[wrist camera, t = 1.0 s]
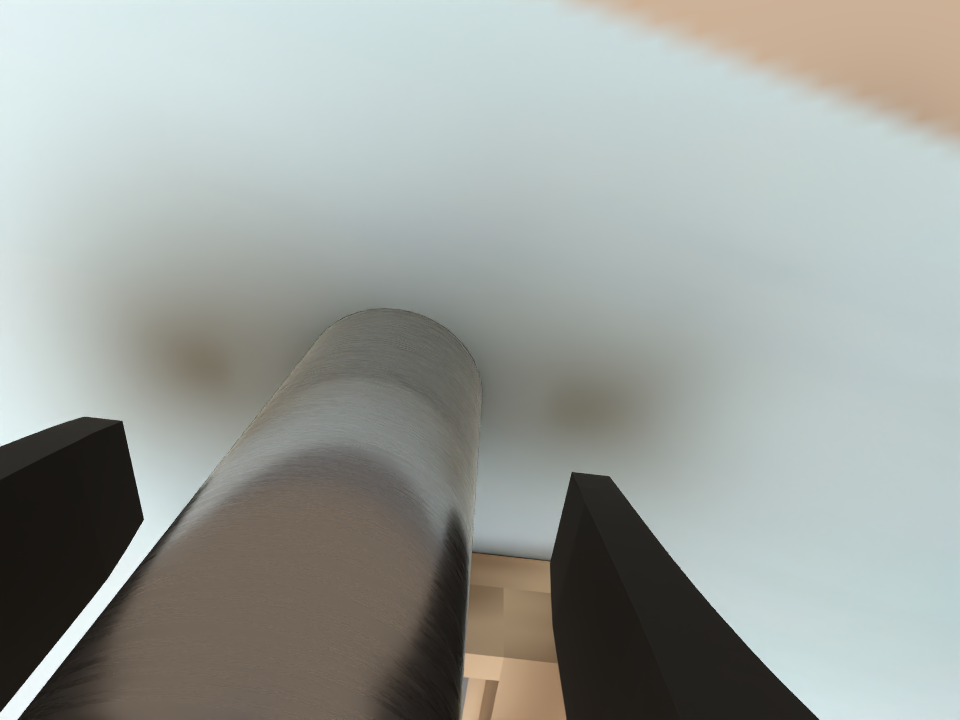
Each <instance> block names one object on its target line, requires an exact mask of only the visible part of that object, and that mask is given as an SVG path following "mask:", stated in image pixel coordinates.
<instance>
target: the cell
mask: <svg viewBox="0 0 960 720" xmlns="http://www.w3.org/2000/svg"><path fill="white" fill-rule="evenodd" d="M481 404H482V386H481V380H480V376H479V372H478V370H477V367H476V365H475V362H474V360H473V359H472V357H471V355H470V353H469V352H468V351H467V349H466V348H465V347H464V345H463V344H462V343H461V342H460V341H459V340H458V339H457V338H456V337H455V336H454V335H453V334H452V333H451V332H449V331H448V330H447V329H445V328H444V327H443V326H441V325H439V324H438V323H436V322H434V321H433V320H430V319H428V318H426V317H424V316H421V315H418V314H415V313H412V312H408V311H403V310H397V309H372V310H367V311H362V312H358V313H355V314H352V315H349V316H347V317H345V318H343V319H341V320H339V321H337V322H336V323H334V324H333V325H332V326H330V327H329V328H328V329H327V330H326V331H324V332H323V333H322V334H321V335H320V337H319V338H318V339H317V340H316V342H315V343H314V344H313V346H312V347H311V348H310V349H309V351H308V352H307V353H306V354H305V356H304V357H303V358H302V360H301V361H300V362H299V363H298V365H297V366H296V367H295V368H294V370H293V371H292V372H291V373H290V375H289V376H288V377H287V379H286V380H285V381H284V382H283V384H282V385H281V386H280V387H279V389H278V390H277V391H276V392H275V394H274V395H273V396H272V398H271V399H270V400H269V401H268V403H267V404H266V405H265V406H264V408H263V409H262V410H261V412H260V413H259V414H258V415H257V417H256V418H255V419H254V420H253V422H252V423H251V424H250V425H249V427H248V428H247V429H246V431H245V432H244V433H243V434H242V436H241V437H240V438H239V439H238V441H237V442H236V443H235V445H234V446H233V447H232V448H231V450H230V451H229V452H228V453H227V455H226V456H225V457H224V458H223V460H222V461H221V462H220V464H219V465H218V466H217V467H216V469H215V470H214V471H213V472H212V474H211V475H210V476H209V477H208V479H207V480H206V481H205V483H204V484H203V485H202V486H201V488H200V489H199V490H198V491H197V493H196V494H195V495H194V497H193V498H192V499H191V500H190V502H189V503H188V504H187V505H186V507H185V508H184V509H183V510H182V512H181V513H180V514H179V516H178V517H177V518H176V519H175V521H174V522H173V523H172V524H171V526H170V527H169V528H168V530H167V531H166V532H165V533H164V535H163V536H162V537H161V538H160V540H159V541H158V542H157V543H156V545H155V546H154V547H153V549H152V550H151V551H150V552H149V554H148V555H147V556H146V557H145V559H144V560H143V561H142V562H141V564H140V565H139V566H138V568H137V569H136V570H135V571H134V573H133V574H132V575H131V576H130V578H129V579H128V580H127V582H126V583H125V584H124V585H123V587H122V588H121V589H120V590H119V592H118V593H117V594H116V595H115V597H114V598H113V599H112V601H111V602H110V603H109V604H108V606H107V607H106V608H105V609H104V611H103V612H102V613H101V615H100V616H99V617H98V618H97V620H96V621H95V622H94V623H93V625H92V626H91V627H90V628H89V630H88V631H87V632H86V634H85V635H84V636H83V637H82V639H81V640H80V641H79V642H78V644H77V645H76V646H75V647H74V649H73V650H72V651H71V653H70V654H69V655H68V656H67V658H66V659H65V660H64V661H63V663H62V664H61V665H60V667H59V668H58V669H57V670H56V672H55V673H54V674H53V675H52V677H51V678H50V679H49V680H48V682H47V683H46V684H45V686H44V687H43V688H42V689H41V691H40V692H39V693H38V694H37V696H36V697H35V698H34V700H33V701H32V702H31V703H30V705H29V706H28V707H27V708H26V710H25V711H24V712H23V713H22V715H21V716H20V717H19V719H18V720H461V709H462V694H463V679H464V664H465V648H466V633H467V618H468V603H469V587H470V572H471V557H472V542H473V526H474V511H475V496H476V481H477V465H478V450H479V435H480V420H481Z"/></svg>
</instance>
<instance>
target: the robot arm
mask: <svg viewBox="0 0 960 720" xmlns="http://www.w3.org/2000/svg"><path fill="white" fill-rule="evenodd" d="M143 520H144V518H143V513H142V509H141V504H140V499H139V495H138V490H137V486H136V481H135V477H134V472H133V467H132V463H131V458H130V454H129V449H128V444H127V440H126V435H125V431H124V426H123V422H122V421H117V420H109V419H100V418H91V417H81V418H78V419H75V420H72V421H68V422H65V423H62V424H59V425H56V426H54V427H51V428H48V429H45V430H43V431H40V432H37V433H35V434H32V435H29V436H27V437H24V438H21V439H19V440H16V441H14V442H11V443H9V444H6V445H3V446H1V447H0V712H1V711H2V710H3V708H4V707H5V706H6V705H7V704H8V702H9V701H10V700H11V699H12V697H13V696H14V695H15V694H16V692H17V691H18V690H19V689H20V687H21V686H22V685H23V684H24V683H25V681H26V680H27V679H28V678H29V676H30V675H31V674H32V673H33V671H34V670H35V669H36V668H37V666H38V665H39V664H40V663H41V662H42V660H43V659H44V658H45V657H46V655H47V654H48V653H49V652H50V650H51V649H52V648H53V647H54V645H55V644H56V643H57V642H58V641H59V639H60V638H61V637H62V636H63V634H64V633H65V632H66V631H67V629H68V628H69V627H70V626H71V624H72V623H73V622H74V621H75V619H76V618H77V617H78V616H79V614H80V613H81V612H82V611H83V609H84V608H85V607H86V606H87V604H88V603H89V602H90V601H91V599H92V598H93V597H94V595H95V594H96V593H97V592H98V590H99V589H100V588H101V586H102V585H103V584H104V583H105V581H106V580H107V579H108V577H109V576H110V574H111V573H112V571H113V569H114V568H115V566H116V565H117V563H118V562H119V560H120V559H121V557H122V555H123V554H124V552H125V551H126V549H127V547H128V546H129V544H130V542H131V541H132V539H133V537H134V535H135V534H136V532H137V530H138V529H139V527H140V525H141V524H142V522H143ZM550 583H551V608H552V627H553V634H554V641H555V647H556V654H557V661H558V667H559V674H560V681H561V687H562V694H563V700H564V707H565V713H566V720H819V719H818V718H817V717H816V716H815V715H814V714H813V713H812V712H811V711H810V710H809V709H808V708H807V707H806V706H805V705H804V704H803V703H802V702H801V701H800V700H799V699H798V698H797V697H796V696H795V695H794V694H793V693H792V692H791V691H790V690H789V689H788V688H787V687H786V686H785V685H784V684H783V683H782V682H781V681H780V680H779V679H778V678H777V677H776V676H775V675H774V674H773V673H772V672H771V671H770V670H769V669H768V667H767V666H766V665H765V664H764V663H763V662H762V661H761V660H760V659H759V658H758V657H757V656H756V655H755V654H754V653H753V652H752V650H751V649H750V648H749V647H748V646H747V645H746V644H745V643H744V642H743V640H742V639H741V638H740V637H739V636H738V635H737V634H736V633H735V632H734V630H733V629H732V628H731V627H730V626H729V625H728V624H727V623H726V622H725V620H724V619H723V618H722V617H721V616H720V615H719V614H718V613H717V612H716V610H715V609H714V608H713V607H712V606H711V605H710V603H709V602H708V601H707V600H706V599H705V598H704V596H703V595H702V594H701V593H700V592H699V591H698V589H697V588H696V587H695V586H694V585H693V583H692V582H691V581H690V580H689V578H688V577H687V576H686V575H685V574H684V572H683V571H682V570H681V569H680V567H679V566H678V565H677V564H676V562H675V561H674V560H673V559H672V558H671V556H670V555H669V554H668V552H667V551H666V550H665V549H664V547H663V546H662V545H661V544H660V542H659V541H658V540H657V538H656V537H655V536H654V534H653V533H652V532H651V531H650V529H649V528H648V527H647V525H646V524H645V523H644V521H643V520H642V519H641V517H640V516H639V515H638V513H637V512H636V511H635V510H634V508H633V507H632V506H631V504H630V503H629V502H628V500H627V499H626V498H625V496H624V495H623V494H622V492H621V491H620V490H619V488H618V487H617V486H616V484H615V483H614V482H613V481H612V479H611V478H610V477H609V476H602V475H593V474H584V473H575V472H572V474H571V478H570V482H569V486H568V490H567V494H566V499H565V503H564V507H563V511H562V515H561V520H560V524H559V528H558V532H557V536H556V541H555V545H554V549H553V553H552V557H551V561H550Z"/></svg>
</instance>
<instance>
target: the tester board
mask: <svg viewBox="0 0 960 720" xmlns="http://www.w3.org/2000/svg"><path fill="white" fill-rule="evenodd" d="M461 720H566V713H565V707H564V700H563V694H562V687H561V681H560V674H559V667H558V661H557V654H556V647H555V641H554V634H553V627H552V608H551V583H550V562H549V561H540V560H532V559H523V558H514V557H505V556H496V555H488V554H479V553H472V557H471V572H470V587H469V603H468V618H467V633H466V648H465V664H464V679H463V694H462V709H461Z"/></svg>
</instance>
